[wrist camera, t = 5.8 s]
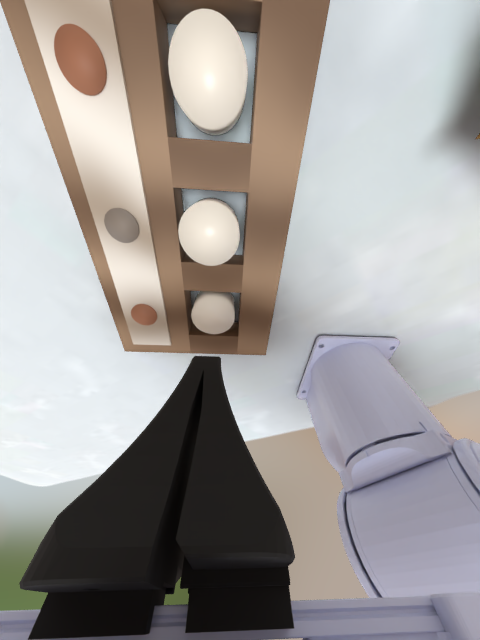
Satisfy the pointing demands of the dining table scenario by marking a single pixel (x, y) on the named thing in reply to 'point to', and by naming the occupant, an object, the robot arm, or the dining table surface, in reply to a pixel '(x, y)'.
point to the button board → (170, 155)
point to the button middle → (209, 232)
